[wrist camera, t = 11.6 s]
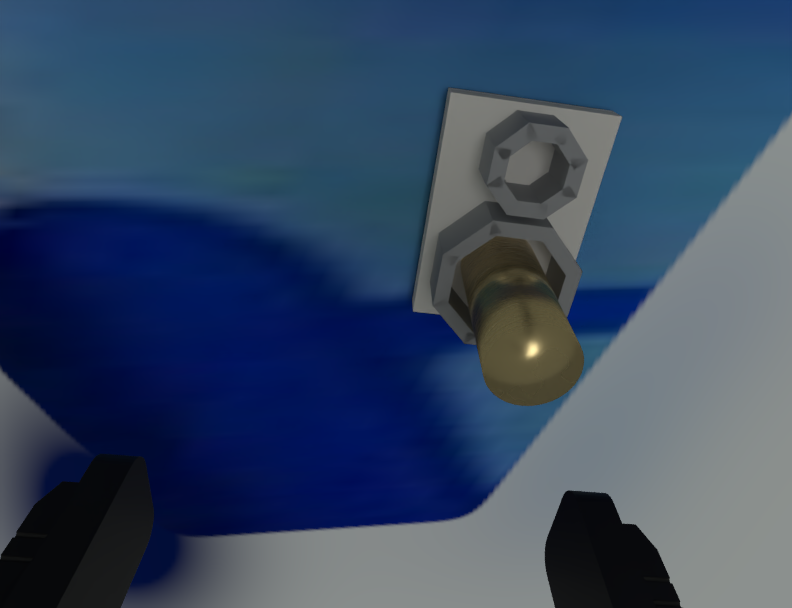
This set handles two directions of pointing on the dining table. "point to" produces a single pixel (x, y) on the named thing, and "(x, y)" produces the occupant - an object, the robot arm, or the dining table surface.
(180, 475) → the dining table surface
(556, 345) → the brass cylinder
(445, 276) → the grey mounting plate
